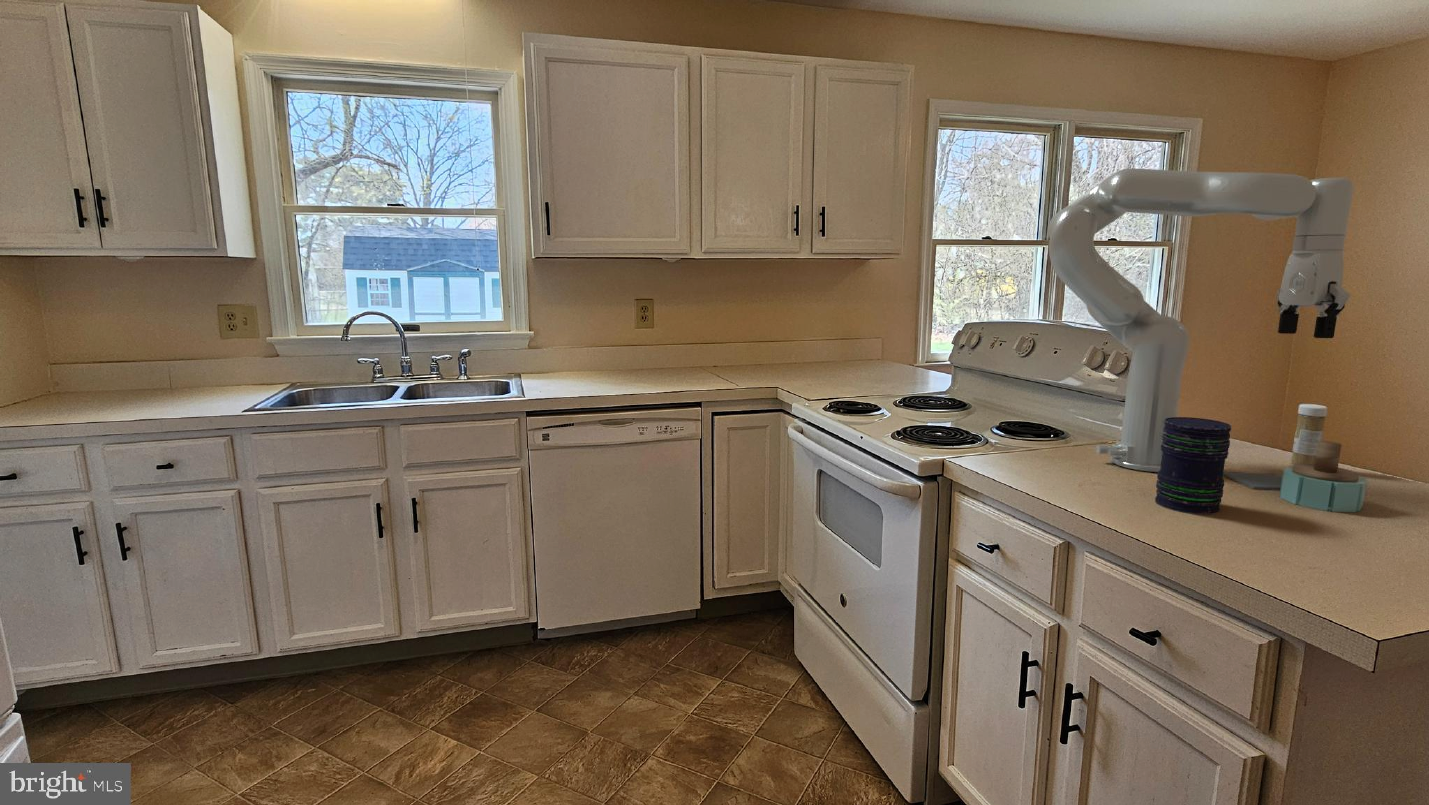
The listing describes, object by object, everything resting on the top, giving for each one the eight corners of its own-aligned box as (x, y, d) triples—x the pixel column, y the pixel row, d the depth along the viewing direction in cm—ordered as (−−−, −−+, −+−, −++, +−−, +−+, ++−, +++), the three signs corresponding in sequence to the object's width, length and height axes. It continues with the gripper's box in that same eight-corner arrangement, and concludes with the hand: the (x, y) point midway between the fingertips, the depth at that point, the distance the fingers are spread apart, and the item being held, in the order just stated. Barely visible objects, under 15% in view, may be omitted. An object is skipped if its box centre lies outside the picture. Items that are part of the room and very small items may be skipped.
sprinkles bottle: (1292, 464, 153) (1302, 402, 150) (1320, 468, 149) (1330, 405, 147) (1286, 467, 150) (1296, 405, 148) (1314, 472, 147) (1324, 408, 144)
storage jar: (1142, 502, 128) (1152, 420, 125) (1172, 493, 133) (1181, 414, 130) (1202, 518, 120) (1214, 431, 117) (1232, 508, 124) (1244, 425, 122)
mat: (1253, 489, 136) (1253, 486, 136) (1220, 474, 145) (1221, 472, 145) (1309, 490, 135) (1309, 488, 135) (1272, 475, 145) (1272, 473, 145)
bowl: (1310, 511, 123) (1314, 483, 122) (1266, 491, 134) (1270, 465, 133) (1378, 512, 122) (1383, 484, 121) (1329, 493, 133) (1333, 467, 132)
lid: (1316, 481, 123) (1321, 448, 122) (1280, 467, 132) (1284, 436, 131) (1372, 482, 123) (1378, 450, 121) (1332, 468, 131) (1337, 437, 130)
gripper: (1266, 247, 145) (1254, 331, 148) (1332, 244, 128) (1317, 339, 131) (1305, 247, 144) (1293, 332, 147) (1376, 244, 127) (1360, 340, 130)
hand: (1304, 335), depth 139 cm, fingers open, 9 cm apart
